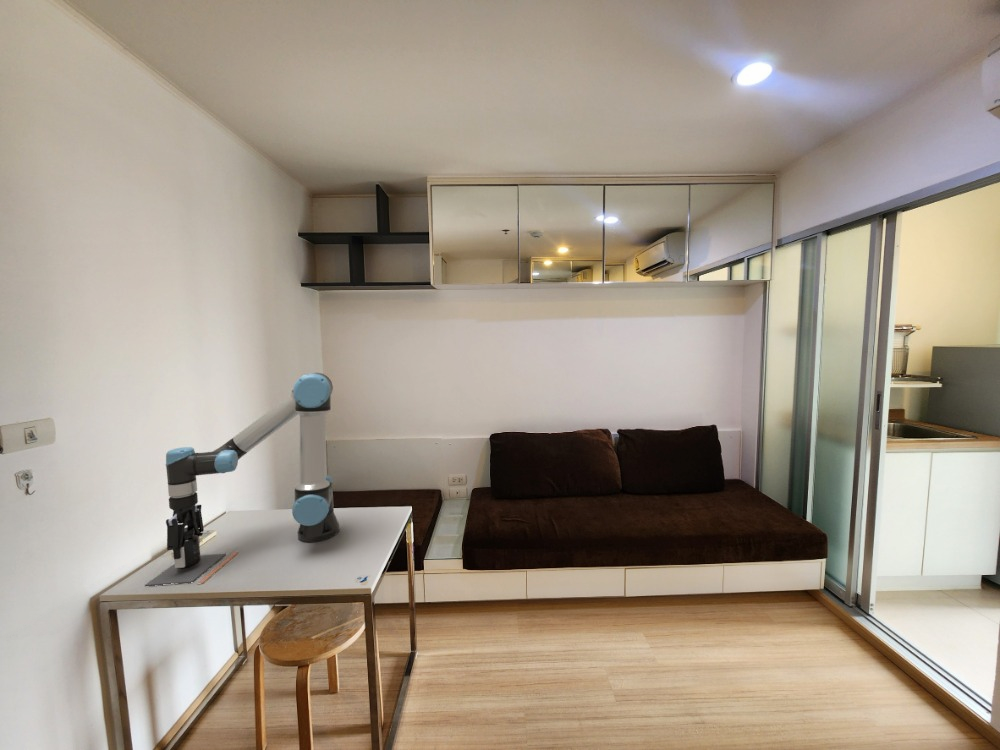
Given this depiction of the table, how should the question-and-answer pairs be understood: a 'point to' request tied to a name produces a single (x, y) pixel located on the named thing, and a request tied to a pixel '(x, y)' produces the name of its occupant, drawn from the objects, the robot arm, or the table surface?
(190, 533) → the supplement bottle
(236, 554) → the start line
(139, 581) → the table surface
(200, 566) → the mat
